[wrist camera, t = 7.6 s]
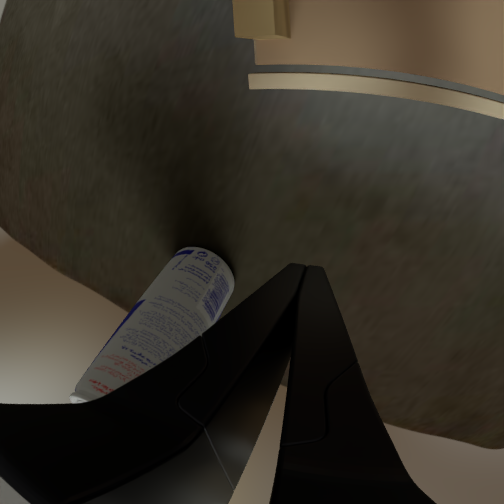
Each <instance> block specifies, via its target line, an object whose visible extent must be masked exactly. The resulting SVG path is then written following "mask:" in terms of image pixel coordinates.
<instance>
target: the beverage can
mask: <svg viewBox="0 0 504 504" xmlns="http://www.w3.org/2000/svg"><path fill="white" fill-rule="evenodd" d="M233 289H234V277H233V274H232V272H231V270H230V268H229V267H228V265H227V264H226V263H225V262H224V261H223V260H222V259H221V258H220V257H219V256H217V255H216V254H214V253H213V252H211V251H209V250H206V249H203V248H199V247H186V248H183V249H181V250H179V251H178V252H177V253H176V254H175V255H174V256H173V258H172V259H171V260H170V261H169V263H168V264H167V265H166V266H165V268H164V269H163V270H162V271H161V273H160V274H159V275H158V276H157V278H156V279H155V280H154V281H153V283H152V284H151V285H150V287H149V288H148V289H147V290H146V292H145V293H144V294H143V295H142V297H141V298H140V299H139V301H138V302H137V303H136V305H135V306H134V307H133V308H132V310H131V311H130V312H129V314H128V315H127V316H126V318H125V319H124V320H123V322H122V323H121V324H120V326H119V327H118V328H117V330H116V331H115V332H114V334H113V335H112V336H111V338H110V339H109V340H108V342H107V343H106V344H105V346H104V347H103V349H102V350H101V351H100V353H99V354H98V356H97V357H96V358H95V360H94V361H93V362H92V364H91V365H90V367H89V368H88V369H87V371H86V372H85V374H84V375H83V377H82V378H81V379H80V381H79V382H78V383H77V385H76V389H75V392H74V393H72V394H71V395H70V400H71V402H72V403H82V402H88V401H91V400H95V399H97V398H100V397H102V396H104V395H106V394H108V393H110V392H112V391H113V390H115V389H117V388H119V387H120V386H122V385H124V384H126V383H127V382H129V381H131V380H133V379H134V378H136V377H138V376H140V375H141V374H143V373H145V372H146V371H148V370H150V369H151V368H153V367H155V366H156V365H158V364H159V363H161V362H163V361H164V360H166V359H167V358H169V357H170V356H172V355H173V354H175V353H176V352H178V351H179V350H180V349H182V348H183V347H184V346H186V345H187V344H189V343H190V342H191V341H193V340H194V339H195V338H196V337H198V336H199V335H201V336H202V333H203V332H204V331H206V330H207V329H208V328H210V327H211V326H212V325H213V324H215V323H216V322H217V321H218V319H219V317H220V315H221V313H222V311H223V309H224V307H225V305H226V303H227V301H228V299H229V297H230V295H231V293H232V291H233Z"/></svg>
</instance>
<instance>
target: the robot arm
mask: <svg viewBox="0 0 504 504" xmlns="http://www.w3.org/2000/svg"><path fill="white" fill-rule="evenodd" d="M290 357H291V359H290ZM289 360H290V368H289V377H288V386H287V395H286V402H285V410H284V419H283V426H282V433H281V440H280V450H279V454H278V461H277V467H276V473H275V478H274V483H273V488H272V493H271V498H270V502H269V504H436V503H435V502H434V501H433V500H432V499H431V498H429V497H428V496H427V495H426V494H425V493H424V492H423V491H422V490H421V489H420V488H419V487H418V486H417V485H416V484H415V483H414V482H413V480H412V479H411V477H410V476H409V474H408V472H407V471H406V469H405V467H404V465H403V463H402V461H401V459H400V457H399V455H398V453H397V451H396V449H395V447H394V444H393V442H392V440H391V438H390V436H389V434H388V432H387V430H386V428H385V426H384V424H383V422H382V420H381V418H380V416H379V413H378V411H377V409H376V407H375V405H374V402H373V400H372V398H371V396H370V393H369V391H368V388H367V385H366V383H365V380H364V377H363V374H362V371H361V369H360V366H359V363H357V362H358V360H357V357H356V354H355V352H354V349H353V346H352V343H351V340H350V337H349V335H348V332H347V329H346V326H345V324H344V321H343V318H342V315H341V313H340V310H339V307H338V305H337V302H336V299H335V297H334V294H333V291H332V289H331V286H330V283H329V281H328V278H327V276H326V273H325V271H324V268H323V267H320V266H312V265H309V266H307V267H306V265H304V264H296V263H290V264H289V265H287V266H286V267H285V268H284V269H282V270H281V271H280V272H279V273H277V274H276V275H275V276H274V277H273V278H271V279H270V280H269V281H268V282H266V283H265V284H264V285H263V286H261V287H260V288H259V289H258V290H256V291H255V292H254V293H253V294H251V295H250V296H249V297H248V298H246V299H245V300H244V301H243V302H241V303H240V304H239V305H238V306H236V307H235V308H234V309H232V310H231V311H230V312H229V313H227V314H226V315H225V316H224V317H222V318H221V319H220V320H218V321H217V322H216V323H215V324H213V325H212V326H211V327H210V328H208V329H207V330H206V331H204V332H203V333H202V336H201V335H199V336H198V337H196V338H195V339H194V340H193V341H191V342H190V343H189V344H187V345H186V346H184V347H183V348H182V349H180V350H179V351H178V352H176V353H175V354H173V355H172V356H170V357H169V358H167V359H166V360H164V361H163V362H161V363H159V364H158V365H156V366H155V367H153V368H151V369H150V370H148V371H146V372H145V373H143V374H141V375H140V376H138V377H136V378H134V379H133V380H131V381H129V382H127V383H126V384H124V385H122V386H120V387H119V388H117V389H115V390H113V391H112V392H110V393H108V394H106V395H104V396H102V397H100V398H97V399H95V400H91V401H88V402H82V403H70V404H2V403H0V504H228V503H229V501H230V499H231V497H232V495H233V492H234V491H233V490H235V488H236V486H237V484H238V482H239V480H240V477H241V475H242V473H243V471H244V469H245V466H246V464H247V462H248V460H249V457H250V455H251V453H252V451H253V448H254V446H255V444H256V441H257V439H258V437H259V434H260V432H261V430H262V427H263V425H264V423H265V420H266V418H267V415H268V413H269V411H270V408H271V406H272V403H273V401H274V398H275V396H276V393H277V390H278V388H279V386H280V383H281V380H282V378H283V375H284V373H285V370H286V367H287V365H288V362H289Z"/></svg>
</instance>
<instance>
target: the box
mask: <svg viewBox="0 0 504 504" xmlns="http://www.w3.org/2000/svg"><path fill="white" fill-rule="evenodd" d="M254 50H255V64H257V57H256V40H255V39H254ZM248 77H249V89H310V90H330V91H344V92H356V93H367V94H376V95H384V96H392V97H399V98H406V99H413V100H419V101H425V102H430V103H436V104H441V105H446V106H451V107H456V108H460V109H465V110H469V111H473V112H477V113H481V114H485V115H489V116H493V117H496V118H500V119H504V103H503V102H499V101H496V100H492V99H489V98H485V97H481V96H477V95H473V94H469V93H465V92H461V91H456V90H452V89H447V88H442V87H437V86H432V85H427V84H421V83H415V82H409V81H402V80H395V79H388V78H379V77H370V76H360V75H348V74H333V73H311V72H258V73H251V74H248Z"/></svg>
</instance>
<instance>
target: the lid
mask: <svg viewBox="0 0 504 504" xmlns="http://www.w3.org/2000/svg"><path fill="white" fill-rule="evenodd" d="M232 1H233V15H234V30H235V37H239V38H248V39H255V40H256V57H257V65H269V64H309V65H334V66H349V67H361V68H371V69H380V70H388V71H396V72H403V73H409V74H416V75H421V76H427V77H432V78H438V79H443V80H447V81H452V82H456V83H461V84H465V85H469V86H473V87H477V88H481V89H484V90H488V91H492V92H495V93H498V94H502V95H504V0H232Z"/></svg>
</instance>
